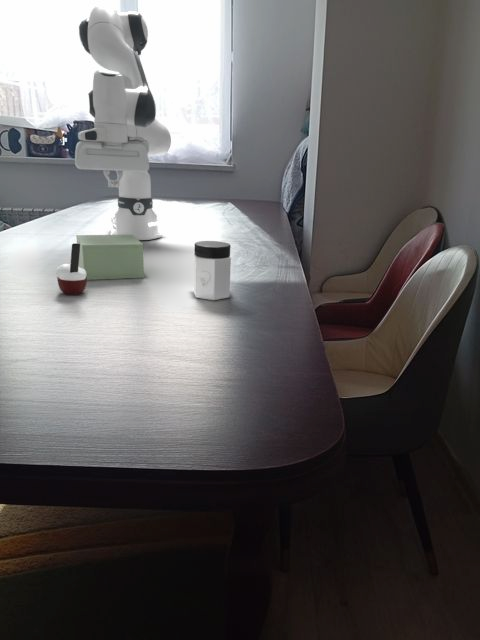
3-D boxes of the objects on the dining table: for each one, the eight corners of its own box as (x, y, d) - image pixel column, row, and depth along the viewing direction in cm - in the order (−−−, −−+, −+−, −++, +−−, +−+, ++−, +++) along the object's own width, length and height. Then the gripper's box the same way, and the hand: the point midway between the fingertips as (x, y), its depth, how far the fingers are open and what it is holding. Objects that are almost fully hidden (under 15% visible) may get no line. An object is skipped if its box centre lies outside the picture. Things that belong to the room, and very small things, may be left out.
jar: (186, 296, 118) (186, 244, 113) (201, 288, 125) (201, 239, 121) (222, 302, 116) (224, 248, 111) (235, 293, 123) (237, 243, 118)
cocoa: (61, 287, 119) (57, 235, 115) (89, 287, 120) (86, 236, 116) (54, 299, 110) (49, 243, 106) (85, 299, 112) (81, 243, 107)
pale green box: (78, 267, 139) (76, 235, 136) (133, 265, 145) (132, 234, 142) (84, 280, 127) (82, 245, 123) (144, 277, 132) (143, 244, 129)
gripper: (146, 137, 150) (147, 187, 155) (72, 132, 142) (76, 185, 147) (151, 137, 144) (152, 189, 149) (74, 132, 136) (78, 187, 141)
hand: (113, 187), depth 148 cm, fingers closed
